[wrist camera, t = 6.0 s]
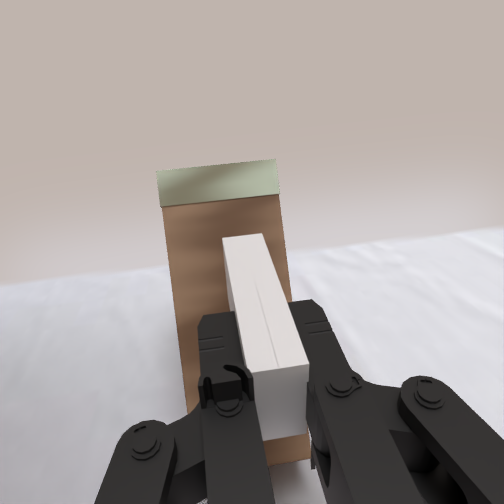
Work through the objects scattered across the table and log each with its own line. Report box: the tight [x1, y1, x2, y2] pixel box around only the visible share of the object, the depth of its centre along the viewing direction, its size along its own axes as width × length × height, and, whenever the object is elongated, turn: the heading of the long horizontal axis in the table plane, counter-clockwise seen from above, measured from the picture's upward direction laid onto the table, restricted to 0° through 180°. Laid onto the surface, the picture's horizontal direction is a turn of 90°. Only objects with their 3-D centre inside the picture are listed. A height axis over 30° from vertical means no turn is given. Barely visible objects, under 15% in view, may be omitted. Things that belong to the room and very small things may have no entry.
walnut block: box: [156, 159, 311, 466], centre depth 20 cm, size 5×5×13 cm
